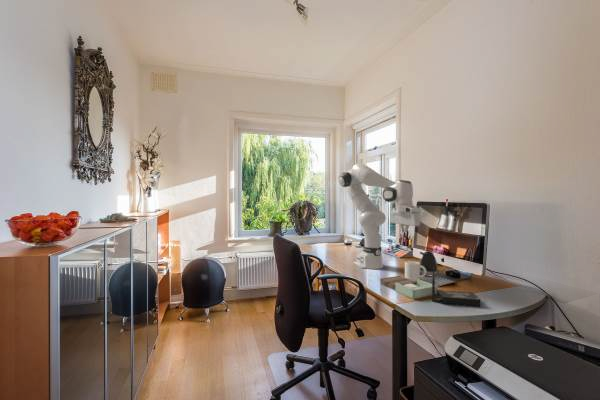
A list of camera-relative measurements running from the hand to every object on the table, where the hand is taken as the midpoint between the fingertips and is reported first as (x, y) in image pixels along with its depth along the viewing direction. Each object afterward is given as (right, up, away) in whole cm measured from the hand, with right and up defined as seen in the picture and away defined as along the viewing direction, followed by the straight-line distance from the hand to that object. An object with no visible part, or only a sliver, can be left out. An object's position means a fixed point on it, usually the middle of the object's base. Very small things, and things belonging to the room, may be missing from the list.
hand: (404, 232), depth 166 cm
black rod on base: (+14, -31, -27) cm, 43 cm away
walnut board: (-5, -29, -5) cm, 30 cm away
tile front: (+1, -27, -19) cm, 33 cm away
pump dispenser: (+21, -29, +16) cm, 39 cm away
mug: (+9, -29, +6) cm, 31 cm away
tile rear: (-1, -29, -13) cm, 32 cm away
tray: (0, -30, -16) cm, 34 cm away
